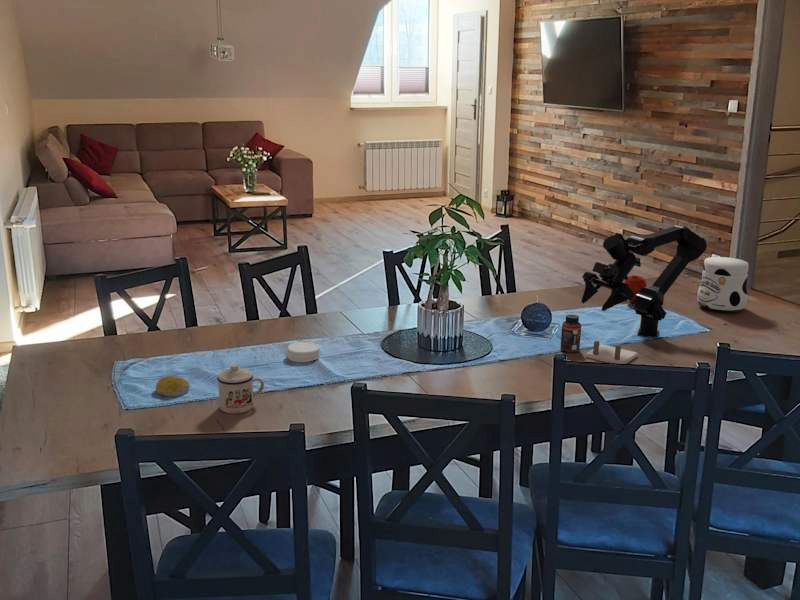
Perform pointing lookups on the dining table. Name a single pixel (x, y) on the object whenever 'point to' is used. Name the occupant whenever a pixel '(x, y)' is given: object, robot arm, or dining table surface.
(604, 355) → the pegboard
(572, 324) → the supplement bottle
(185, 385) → the bread roll
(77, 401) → the dining table surface
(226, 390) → the teacup with lid
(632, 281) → the apple
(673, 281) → the robot arm
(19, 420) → the dining table surface
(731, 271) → the milk container
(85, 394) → the dining table surface
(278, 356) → the dining table surface
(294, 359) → the white short cylinder
